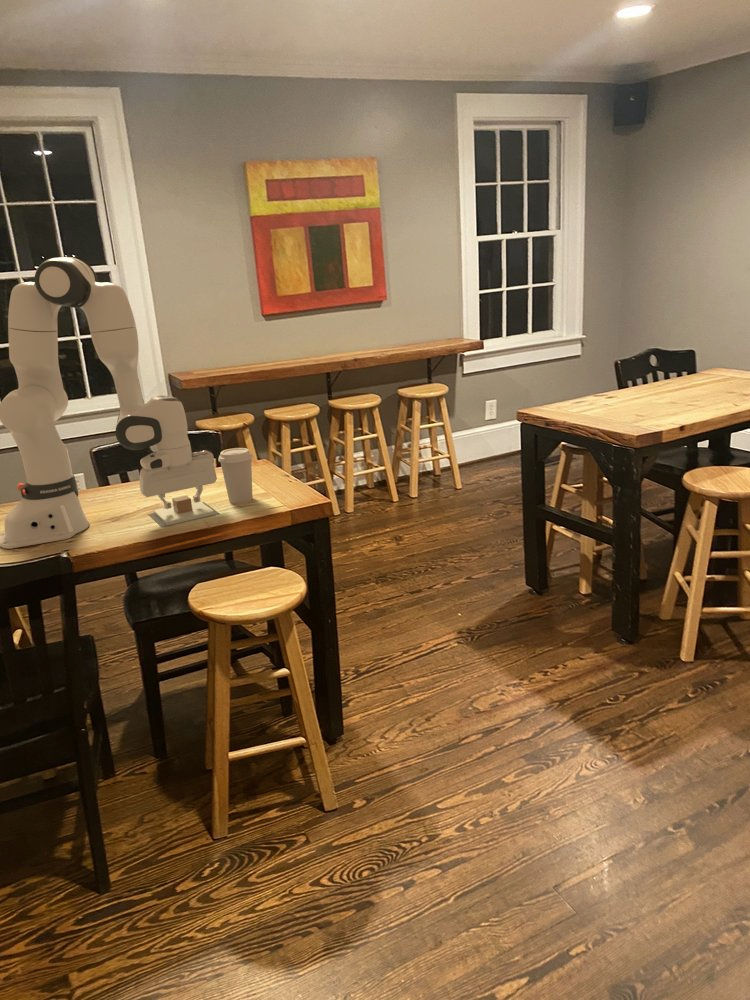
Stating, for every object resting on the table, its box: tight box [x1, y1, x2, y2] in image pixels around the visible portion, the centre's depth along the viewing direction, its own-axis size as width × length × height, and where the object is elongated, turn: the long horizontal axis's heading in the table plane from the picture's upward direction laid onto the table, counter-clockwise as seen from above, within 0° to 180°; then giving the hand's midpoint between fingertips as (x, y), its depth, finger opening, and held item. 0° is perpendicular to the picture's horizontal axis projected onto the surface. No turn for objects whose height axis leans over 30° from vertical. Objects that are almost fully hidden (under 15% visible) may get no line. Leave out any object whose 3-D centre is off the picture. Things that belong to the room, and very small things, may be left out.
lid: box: [152, 494, 215, 526], centre depth 198 cm, size 13×13×4 cm
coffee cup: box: [218, 447, 254, 505], centre depth 205 cm, size 10×10×15 cm
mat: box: [148, 501, 221, 528], centre depth 198 cm, size 16×14×1 cm
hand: (182, 505), depth 197 cm, fingers open, 7 cm apart
